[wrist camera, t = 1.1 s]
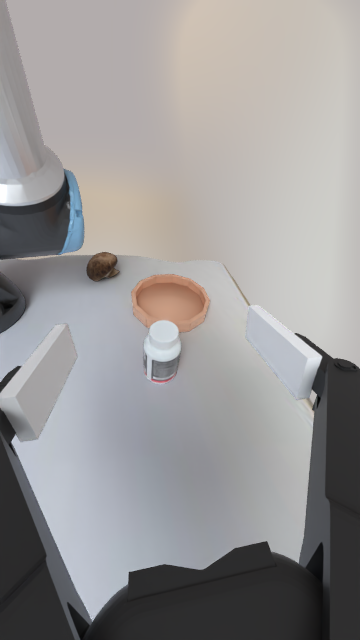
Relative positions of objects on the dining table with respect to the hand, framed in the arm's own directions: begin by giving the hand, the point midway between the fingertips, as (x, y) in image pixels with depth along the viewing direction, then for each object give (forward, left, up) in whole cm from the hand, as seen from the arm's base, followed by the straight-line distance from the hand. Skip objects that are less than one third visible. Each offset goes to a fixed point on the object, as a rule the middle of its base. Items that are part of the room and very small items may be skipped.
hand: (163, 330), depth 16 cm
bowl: (-17, +18, -19) cm, 31 cm away
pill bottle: (-6, +6, -19) cm, 21 cm away
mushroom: (-34, +12, -19) cm, 41 cm away
